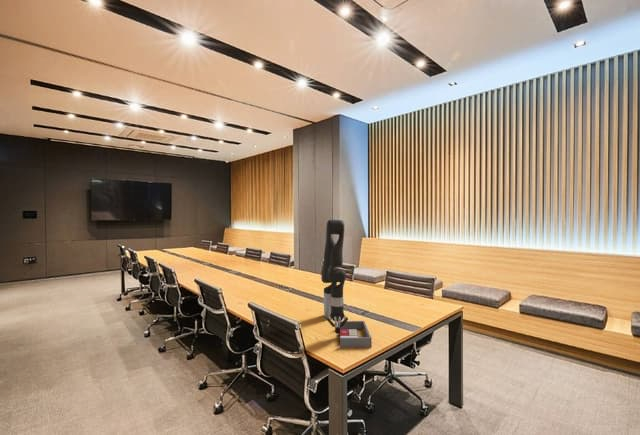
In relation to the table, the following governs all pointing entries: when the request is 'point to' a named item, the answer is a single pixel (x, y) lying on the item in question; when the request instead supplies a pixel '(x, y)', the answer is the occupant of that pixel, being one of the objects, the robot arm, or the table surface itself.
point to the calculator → (348, 333)
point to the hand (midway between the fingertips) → (337, 333)
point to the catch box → (359, 340)
